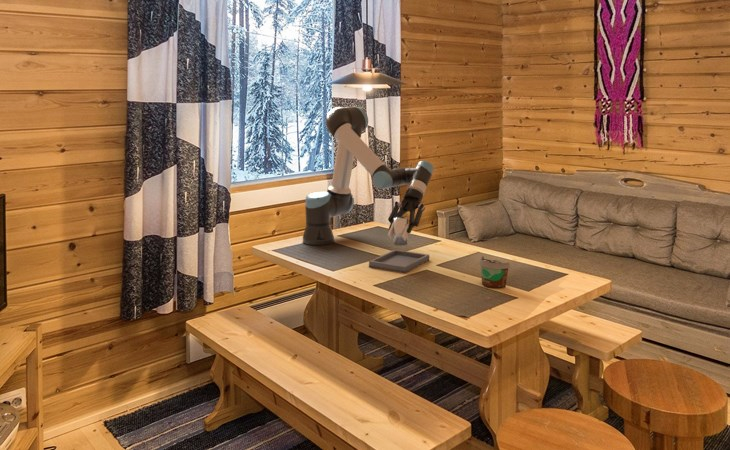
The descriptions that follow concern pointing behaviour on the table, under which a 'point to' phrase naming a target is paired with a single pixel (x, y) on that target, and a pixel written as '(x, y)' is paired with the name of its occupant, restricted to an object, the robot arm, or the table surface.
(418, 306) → the table surface
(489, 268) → the food container
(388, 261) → the slate tray
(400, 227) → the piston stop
